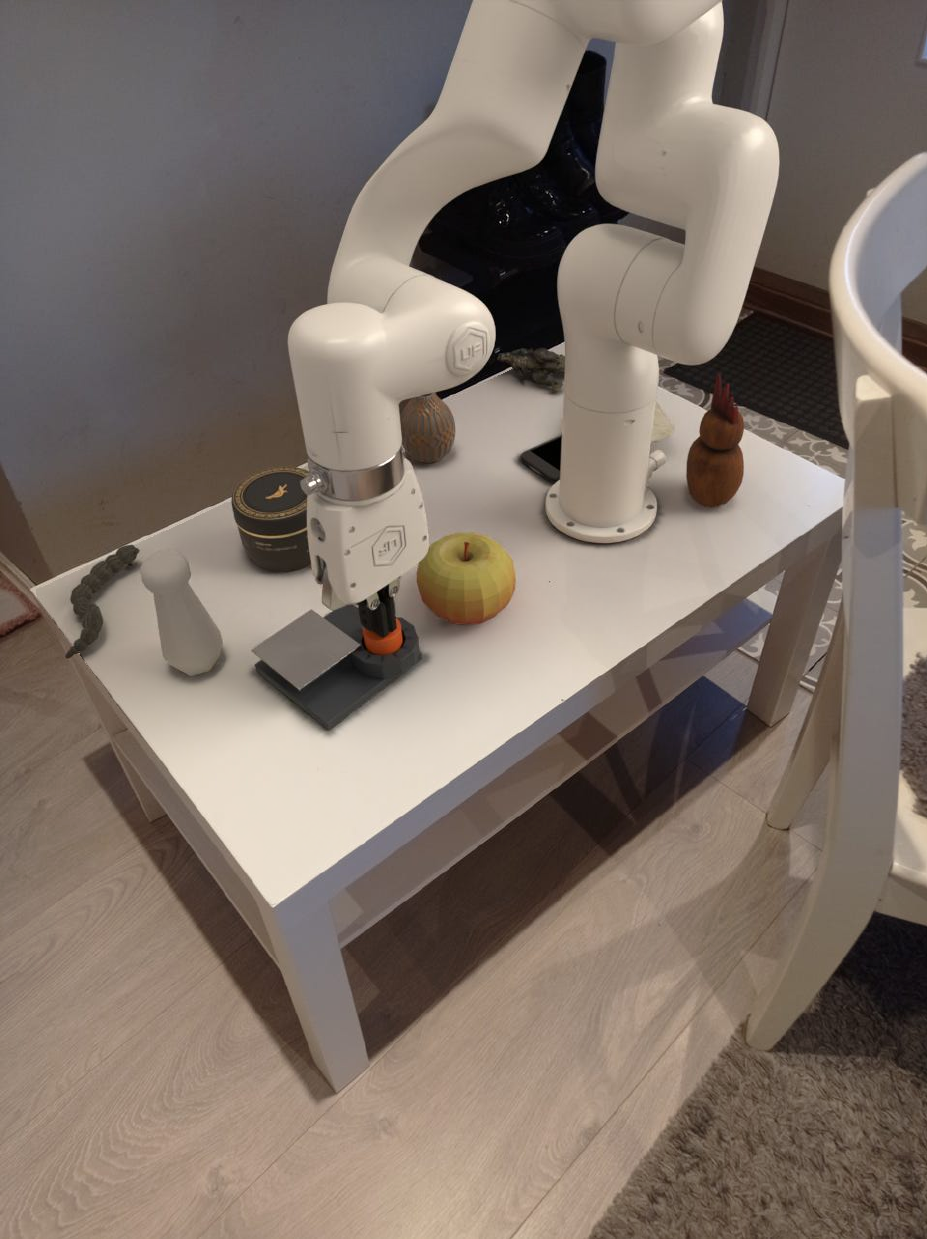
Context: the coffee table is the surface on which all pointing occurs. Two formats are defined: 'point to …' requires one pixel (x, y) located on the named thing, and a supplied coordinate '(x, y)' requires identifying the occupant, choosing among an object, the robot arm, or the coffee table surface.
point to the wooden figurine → (717, 452)
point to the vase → (427, 428)
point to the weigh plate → (306, 649)
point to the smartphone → (545, 459)
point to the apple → (466, 578)
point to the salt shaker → (181, 614)
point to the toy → (90, 585)
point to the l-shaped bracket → (349, 672)
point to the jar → (273, 518)
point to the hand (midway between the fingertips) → (379, 626)
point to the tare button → (383, 641)
